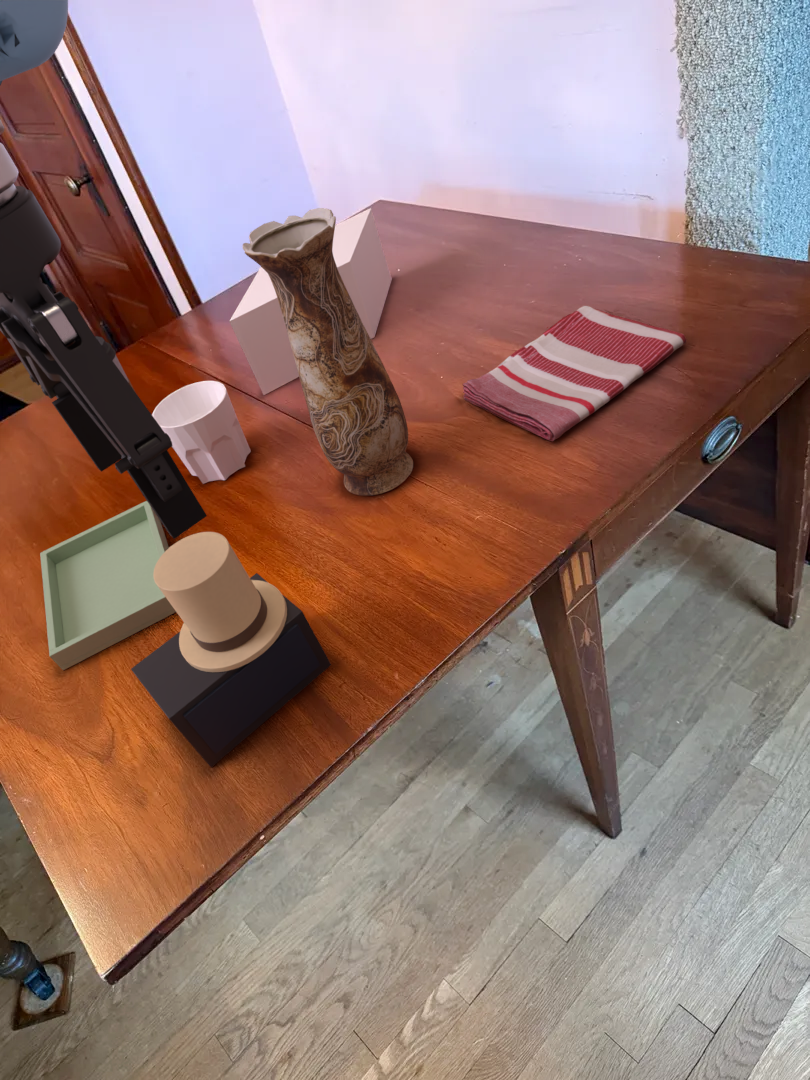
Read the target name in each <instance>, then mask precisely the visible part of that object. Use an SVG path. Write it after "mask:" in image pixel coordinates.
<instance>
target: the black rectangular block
mask: <svg viewBox="0 0 810 1080" xmlns="http://www.w3.org/2000/svg"><path fill="white" fill-rule="evenodd" d="M250 579H251V580H259V581H264V582H267V583H269V581H267V580H266V579H264V577H262V576H261V575H260V574H259V573H258V572H256V573H255V574H253V575H251V576H250ZM283 597H284V599H285V601H286V605H287V617H286V622H285V625H284V627H283V629H282V631H281V633H280V635H279V636H278V638H277V639H276V641H275V642H274V643H273V644H272V645H271V646H270V647H269V648H268V649H267V650H266V651H265V652H264V653H263V654H262V655H260V656H259V657H257V658H256V659H255V660H253V661H251V662H249V663H248V664H246V665H243V666H241V667H239V668H236V669H233V670H229V671H224V672H205V671H201V670H199V669H196V668H194V667H193V666H191V665H190V664H189V663H188V662H187V661H186V659H185V658H184V657H183V655H182V653H181V651H180V647H179V636H180V631H179V632H177V633H176V634H175V635H173V636H172V637H171V638H169V639H168V640H166V641H165V642H164V643H162V644H161V645H160V646H159V647H158V648H156V649H155V650H154V651H152V652H151V653H150V654H148V655H147V656H146V657H145V658H143V659H142V660H141V661H139V662H137V664H135V665H134V666H133V667H131V669H130V671H132V673H133V674H134V675H135V677H136V678H137V679H138V680H139V682H140V683H141V685H142V686H143V687H144V689H145V690H146V691H147V693H148V694H149V695H150V697H152V699H153V700H154V702H155V703H156V704H157V706H158V707H159V708H160V709H161V711H162V712H163V714H164V715H165V716H166V717H167V719H168V720H169V721H170V722H171V724H172V725H173V726H174V727H175V728H176V729H177V730H178V732H179V733H180V734H181V735H182V736H183V737H184V738H185V739H186V741H187V742H188V743H189V744H190V746H191V747H193V749H194V750H195V751H196V752H197V754H199V755H200V757H201V758H202V759H203V760H204V761H205V763H206V764H207V765H208V766H209V767H210V768H213V767H214V766H215V765H216V764H217V763H219V762H220V761H221V760H222V759H223V758H224V757H226V756H227V755H228V754H229V753H231V751H233V750H234V749H235V748H236V747H237V746H239V745H240V744H241V743H242V742H243V741H244V740H246V739H247V738H248V737H249V736H250V735H252V734H253V733H254V732H255V731H256V730H257V729H258V728H260V727H261V726H263V724H264V723H266V722H267V721H268V720H269V719H270V718H271V717H273V715H275V714H276V713H277V712H278V711H280V709H282V708H283V707H284V706H285V705H287V704H288V703H289V702H290V701H291V700H292V699H293V698H295V697H296V696H297V695H298V694H299V693H301V692H302V691H303V690H304V689H306V687H307V686H309V685H310V684H311V683H312V682H313V681H314V680H316V679H318V678H319V676H320V675H321V674H323V673H324V672H326V670H327V669H329V668H330V667H331V666H332V663H331V661H330V659H329V657H328V656H327V654H326V652H325V650H324V649H323V647H322V645H321V643H320V641H319V639H318V637H317V636H316V634H315V632H314V630H313V628H312V627H311V625H310V623H309V621H308V619H307V618H306V615H305V614H304V612H303V611H302V609H300V608H299V607H298V606H297V605H296V604H294V603H293V602H292V601H291V600H290V599H289V598H288V597H286V596H285V595H283Z"/></svg>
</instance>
